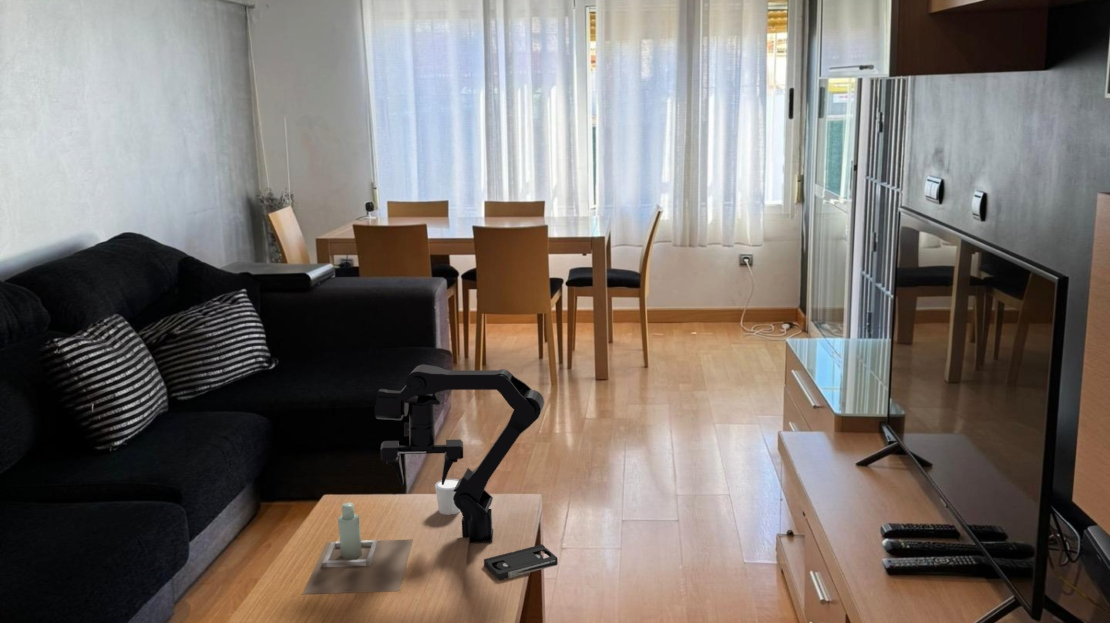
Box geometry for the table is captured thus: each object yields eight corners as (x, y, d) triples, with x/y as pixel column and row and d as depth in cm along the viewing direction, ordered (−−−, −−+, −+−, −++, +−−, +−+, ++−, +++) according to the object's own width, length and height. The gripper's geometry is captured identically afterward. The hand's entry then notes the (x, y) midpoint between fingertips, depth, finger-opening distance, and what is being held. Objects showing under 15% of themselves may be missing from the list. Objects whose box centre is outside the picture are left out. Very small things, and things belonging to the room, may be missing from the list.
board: (413, 543, 228) (412, 535, 227) (399, 595, 204) (398, 586, 204) (326, 546, 228) (325, 538, 227) (302, 598, 204) (301, 590, 204)
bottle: (366, 552, 222) (362, 502, 219) (353, 561, 218) (349, 510, 215) (349, 549, 224) (345, 499, 221) (336, 557, 220) (332, 507, 217)
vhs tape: (498, 582, 209) (498, 574, 209) (484, 567, 216) (483, 559, 216) (558, 566, 216) (558, 558, 215) (542, 552, 223) (542, 544, 222)
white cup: (466, 504, 249) (465, 478, 247) (461, 516, 242) (459, 489, 240) (439, 504, 249) (438, 478, 248) (433, 515, 243) (432, 489, 241)
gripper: (462, 408, 234) (462, 470, 238) (382, 410, 232) (383, 472, 236) (463, 424, 223) (463, 489, 227) (379, 426, 221) (381, 491, 225)
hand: (422, 484), depth 229 cm, fingers open, 9 cm apart
